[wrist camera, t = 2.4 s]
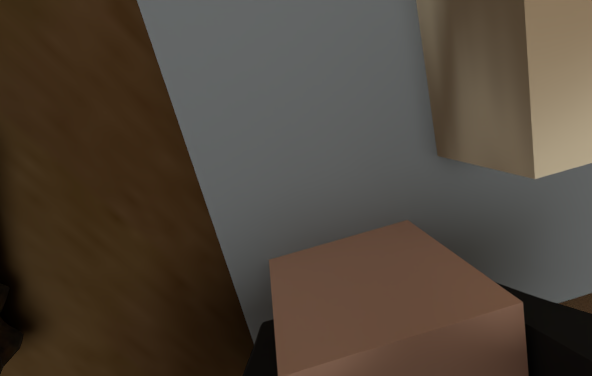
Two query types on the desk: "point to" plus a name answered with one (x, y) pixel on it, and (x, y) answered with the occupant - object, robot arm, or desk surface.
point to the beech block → (510, 82)
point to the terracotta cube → (392, 310)
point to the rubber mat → (346, 145)
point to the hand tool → (7, 333)
